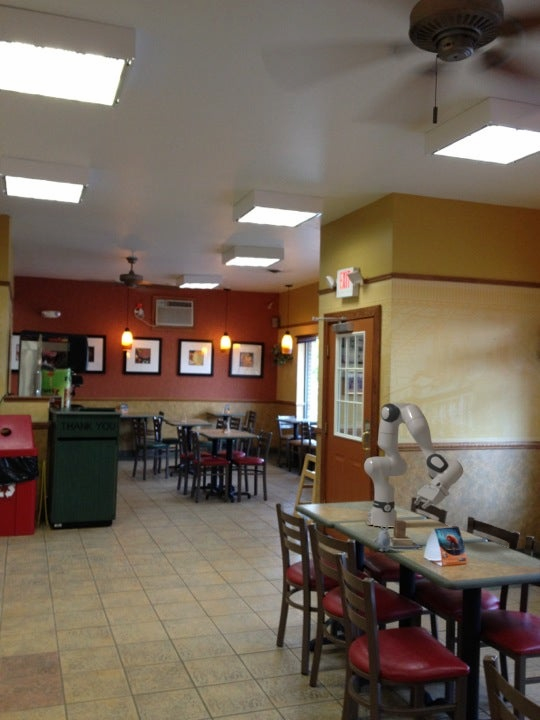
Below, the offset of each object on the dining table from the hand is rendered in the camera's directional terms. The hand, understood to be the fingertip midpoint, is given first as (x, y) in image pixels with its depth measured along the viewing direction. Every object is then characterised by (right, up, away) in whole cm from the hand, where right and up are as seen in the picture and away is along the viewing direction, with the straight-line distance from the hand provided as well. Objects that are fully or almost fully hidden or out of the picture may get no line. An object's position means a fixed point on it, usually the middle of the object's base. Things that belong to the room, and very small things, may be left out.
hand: (419, 505), depth 332 cm
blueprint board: (-10, -19, -1) cm, 22 cm away
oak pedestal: (-11, -19, -2) cm, 22 cm away
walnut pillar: (-10, -15, -2) cm, 19 cm away
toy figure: (-20, -18, -15) cm, 31 cm away
